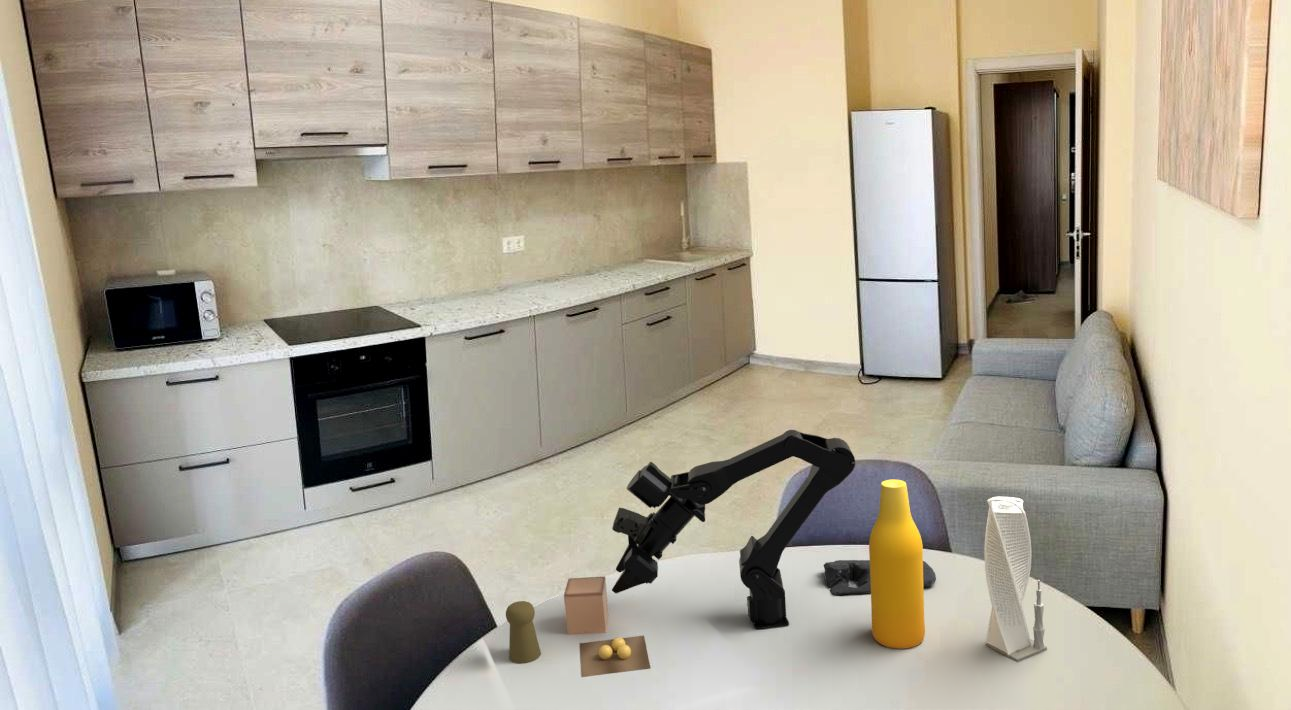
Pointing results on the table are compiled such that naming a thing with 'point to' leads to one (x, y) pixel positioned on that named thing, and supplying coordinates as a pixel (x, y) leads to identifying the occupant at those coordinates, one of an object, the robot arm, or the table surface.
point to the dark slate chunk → (859, 576)
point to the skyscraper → (1010, 580)
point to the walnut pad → (613, 657)
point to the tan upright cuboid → (586, 605)
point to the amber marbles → (618, 646)
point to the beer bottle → (896, 571)
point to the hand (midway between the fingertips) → (615, 581)
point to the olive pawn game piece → (522, 633)
